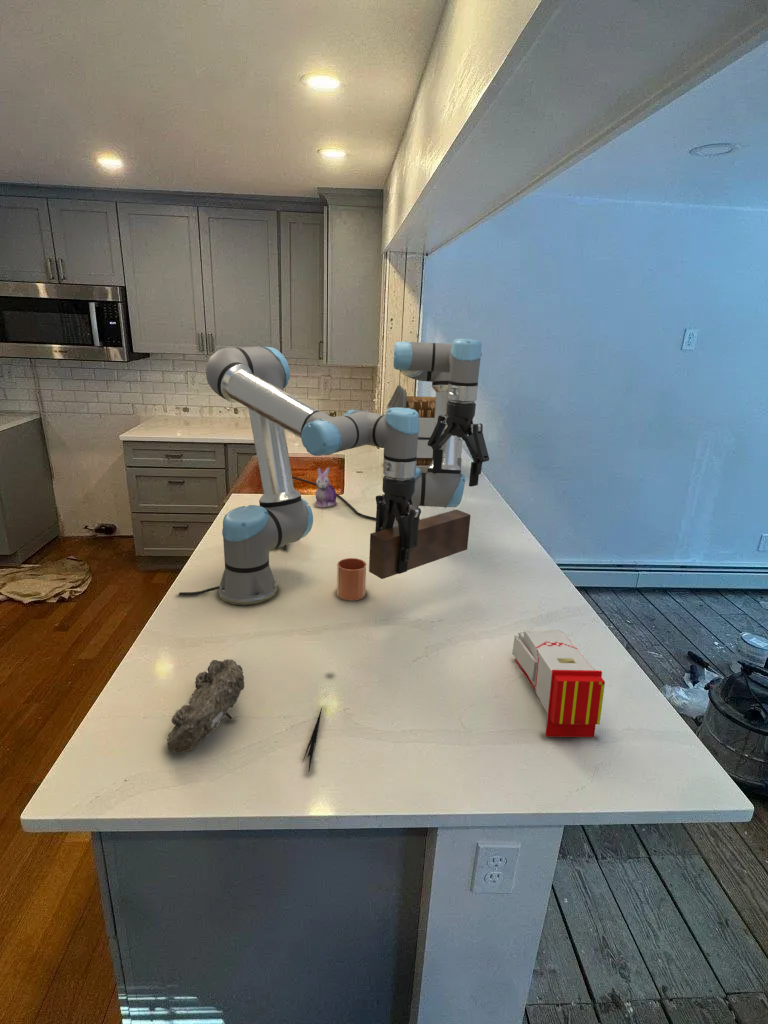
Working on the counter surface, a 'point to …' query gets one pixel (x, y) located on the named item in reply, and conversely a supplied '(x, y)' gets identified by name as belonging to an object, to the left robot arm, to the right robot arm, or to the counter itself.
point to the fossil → (206, 705)
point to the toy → (561, 681)
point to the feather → (313, 740)
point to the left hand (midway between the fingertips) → (394, 567)
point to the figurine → (324, 490)
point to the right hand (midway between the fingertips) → (454, 479)
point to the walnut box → (420, 543)
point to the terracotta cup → (351, 579)
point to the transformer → (421, 423)
